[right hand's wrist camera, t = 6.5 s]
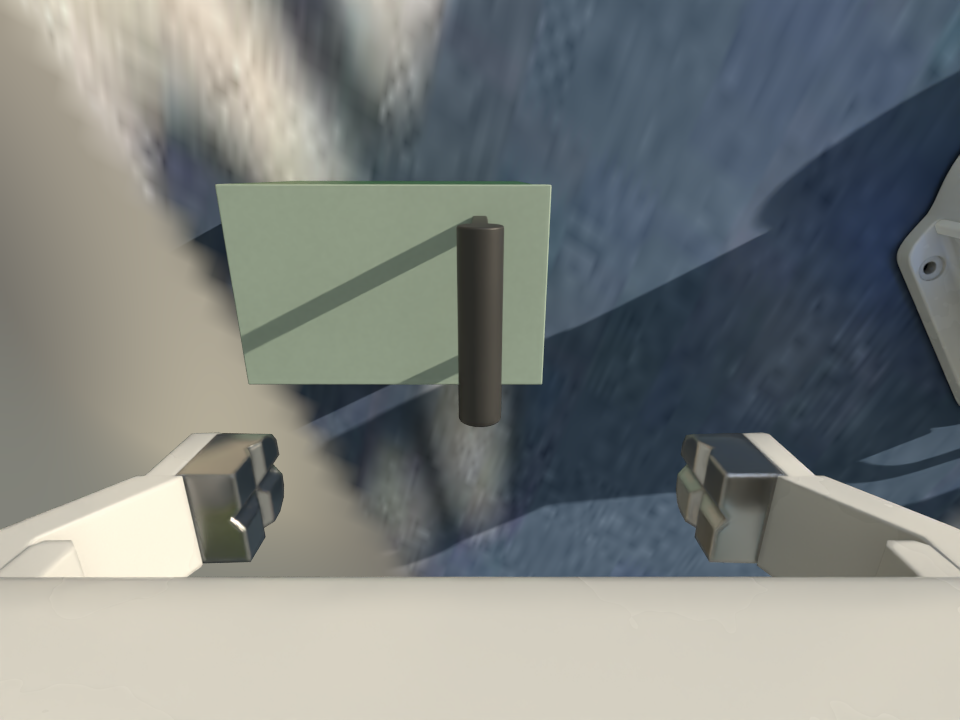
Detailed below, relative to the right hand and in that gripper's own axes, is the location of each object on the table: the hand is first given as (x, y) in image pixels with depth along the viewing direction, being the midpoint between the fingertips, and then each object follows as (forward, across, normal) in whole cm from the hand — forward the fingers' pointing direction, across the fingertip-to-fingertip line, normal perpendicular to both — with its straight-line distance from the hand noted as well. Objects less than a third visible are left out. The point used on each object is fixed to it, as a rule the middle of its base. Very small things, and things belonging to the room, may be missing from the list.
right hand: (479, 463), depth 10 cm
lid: (+17, +4, 0) cm, 17 cm away
